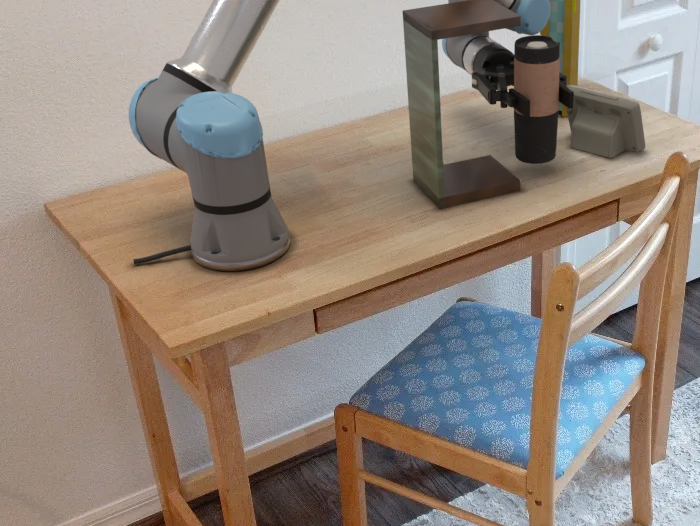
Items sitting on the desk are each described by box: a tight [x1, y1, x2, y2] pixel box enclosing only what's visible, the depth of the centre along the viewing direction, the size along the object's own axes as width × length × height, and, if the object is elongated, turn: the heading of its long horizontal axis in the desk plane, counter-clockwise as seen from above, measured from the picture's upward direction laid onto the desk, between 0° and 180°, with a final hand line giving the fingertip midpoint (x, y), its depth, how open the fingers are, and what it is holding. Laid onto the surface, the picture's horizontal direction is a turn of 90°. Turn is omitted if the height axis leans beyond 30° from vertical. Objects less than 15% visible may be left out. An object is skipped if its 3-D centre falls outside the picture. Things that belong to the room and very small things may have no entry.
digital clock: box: [566, 85, 646, 159], centre depth 183 cm, size 16×9×11 cm, turn 39°
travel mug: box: [513, 34, 560, 165], centre depth 171 cm, size 8×8×20 cm
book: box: [539, 0, 581, 118], centre depth 198 cm, size 17×7×25 cm, turn 168°
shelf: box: [402, 0, 521, 210], centre depth 165 cm, size 15×12×30 cm
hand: (549, 104), depth 167 cm, fingers closed on travel mug, 7 cm apart
